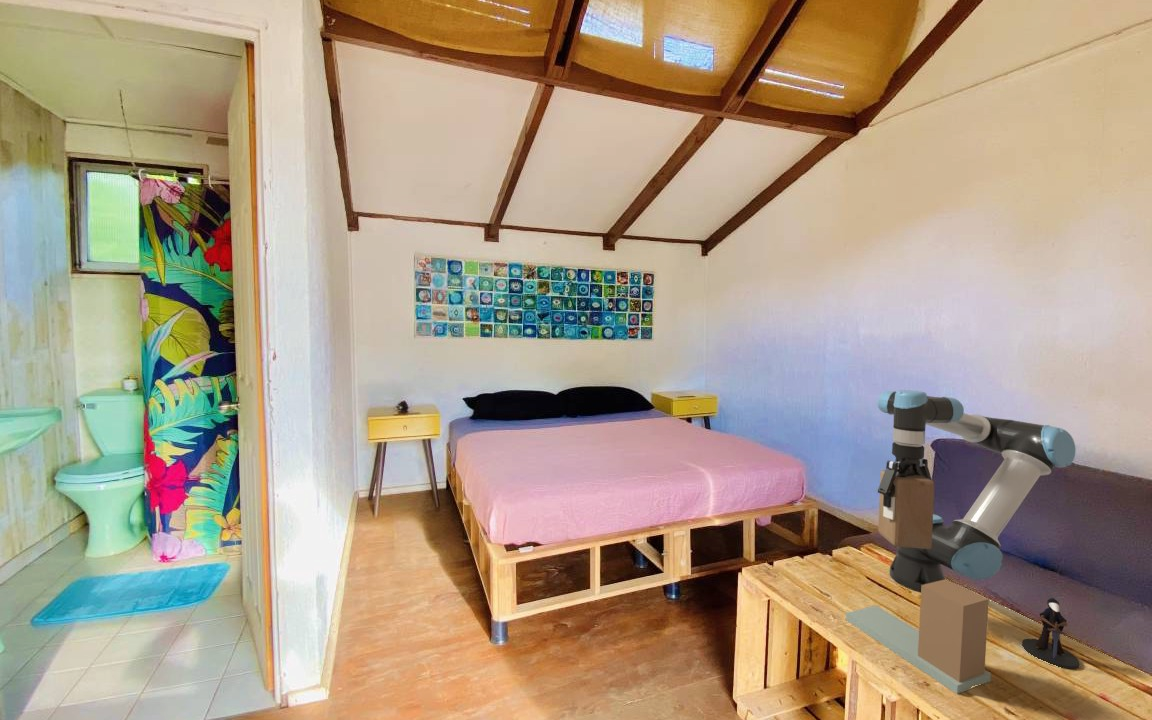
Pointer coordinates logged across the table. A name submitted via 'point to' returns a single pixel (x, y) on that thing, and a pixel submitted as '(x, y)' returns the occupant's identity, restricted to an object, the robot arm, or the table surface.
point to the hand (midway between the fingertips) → (904, 515)
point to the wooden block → (909, 513)
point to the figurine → (1053, 650)
